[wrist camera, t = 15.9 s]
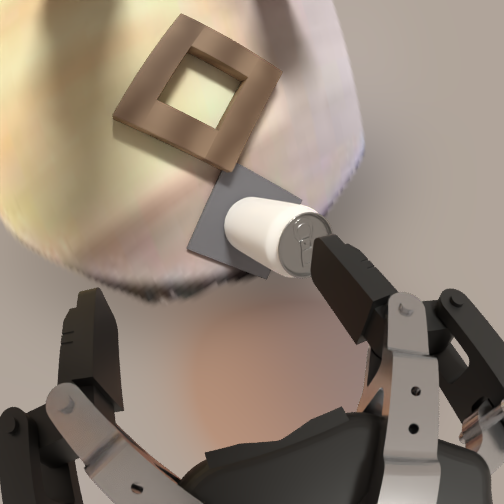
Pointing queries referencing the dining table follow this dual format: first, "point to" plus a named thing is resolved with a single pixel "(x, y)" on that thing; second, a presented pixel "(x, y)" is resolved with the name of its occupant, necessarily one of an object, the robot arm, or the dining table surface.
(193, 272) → the dining table surface
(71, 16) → the dining table surface
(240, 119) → the collar
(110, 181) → the dining table surface
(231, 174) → the mat
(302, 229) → the can
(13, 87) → the dining table surface
